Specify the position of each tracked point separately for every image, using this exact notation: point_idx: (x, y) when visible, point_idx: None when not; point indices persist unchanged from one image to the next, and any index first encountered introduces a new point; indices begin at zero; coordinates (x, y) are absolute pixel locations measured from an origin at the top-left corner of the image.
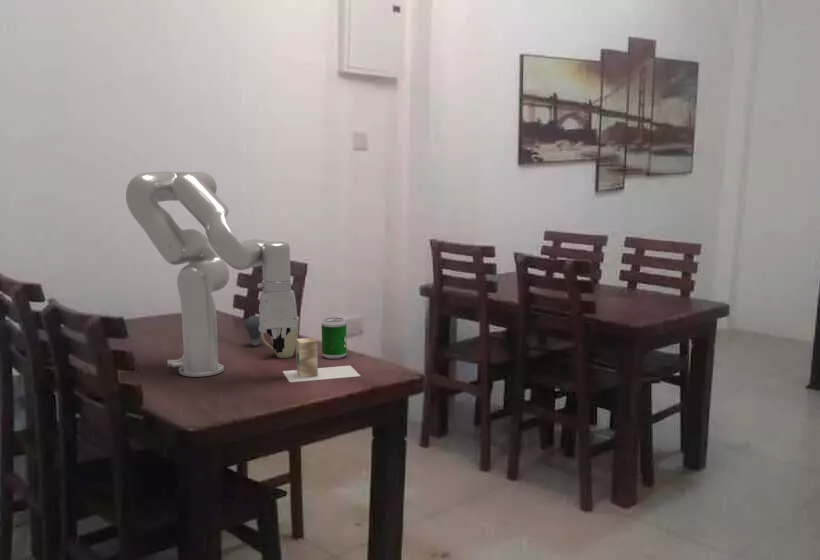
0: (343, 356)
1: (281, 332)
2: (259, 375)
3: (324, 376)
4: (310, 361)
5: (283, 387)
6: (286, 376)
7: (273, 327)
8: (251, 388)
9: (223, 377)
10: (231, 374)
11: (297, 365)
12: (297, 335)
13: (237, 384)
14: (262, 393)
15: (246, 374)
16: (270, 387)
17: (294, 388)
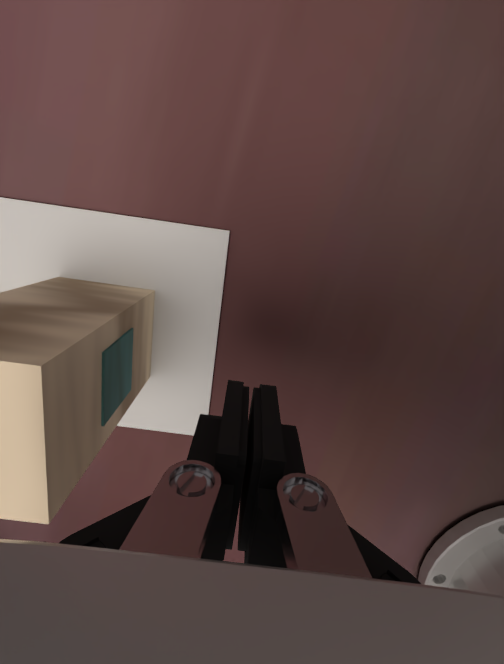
0: None
1: (205, 539)
2: (318, 429)
3: (23, 256)
4: (48, 299)
5: (286, 165)
6: (214, 343)
7: (412, 592)
8: (443, 228)
9: (470, 464)
10: (420, 491)
11: (135, 373)
12: None
13: (470, 332)
14: (435, 94)
15: (364, 466)
16: (349, 200)
17: (236, 112)
